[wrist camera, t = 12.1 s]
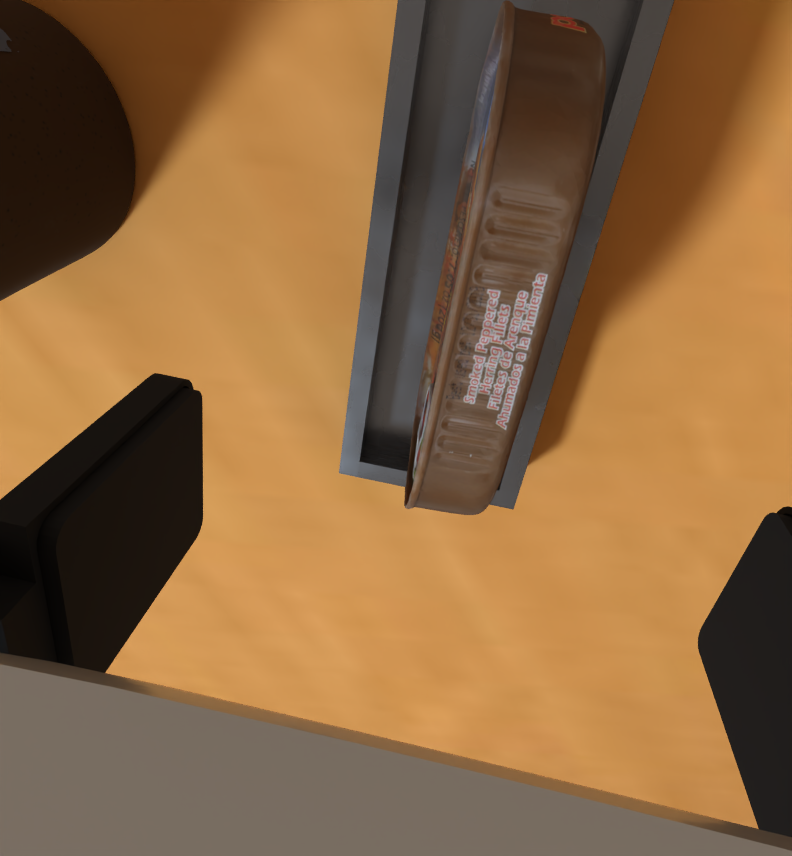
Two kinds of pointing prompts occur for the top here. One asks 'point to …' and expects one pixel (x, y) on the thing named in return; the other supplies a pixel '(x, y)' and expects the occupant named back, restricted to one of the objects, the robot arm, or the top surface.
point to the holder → (434, 202)
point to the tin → (505, 252)
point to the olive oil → (56, 149)
